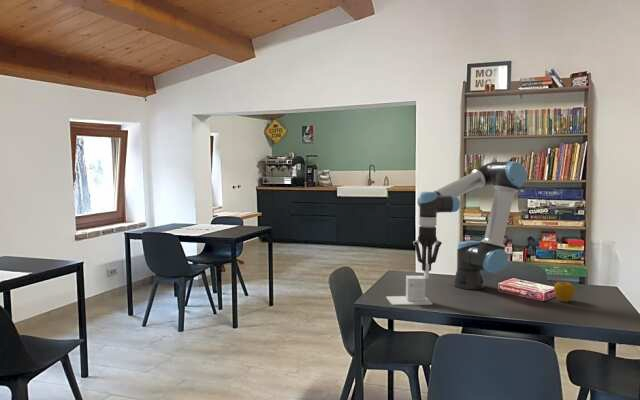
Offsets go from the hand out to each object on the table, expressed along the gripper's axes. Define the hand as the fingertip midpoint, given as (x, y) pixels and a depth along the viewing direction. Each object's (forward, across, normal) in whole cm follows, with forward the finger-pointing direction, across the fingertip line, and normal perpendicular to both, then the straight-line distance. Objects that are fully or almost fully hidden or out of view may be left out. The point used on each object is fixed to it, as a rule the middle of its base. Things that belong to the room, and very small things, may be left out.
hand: (426, 277), depth 215 cm
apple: (+11, -63, +5) cm, 64 cm away
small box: (+10, +5, 0) cm, 11 cm away
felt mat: (+11, +8, 0) cm, 13 cm away
